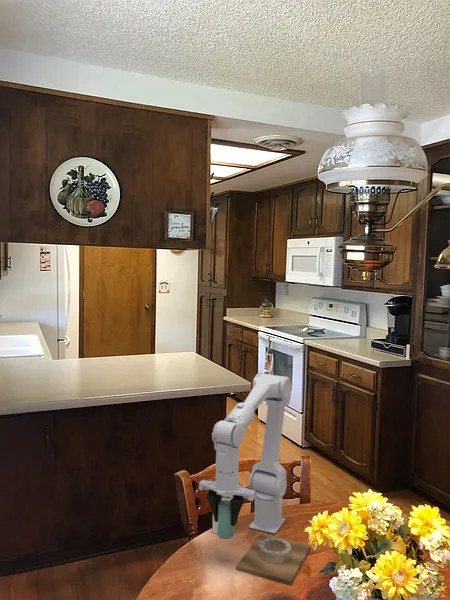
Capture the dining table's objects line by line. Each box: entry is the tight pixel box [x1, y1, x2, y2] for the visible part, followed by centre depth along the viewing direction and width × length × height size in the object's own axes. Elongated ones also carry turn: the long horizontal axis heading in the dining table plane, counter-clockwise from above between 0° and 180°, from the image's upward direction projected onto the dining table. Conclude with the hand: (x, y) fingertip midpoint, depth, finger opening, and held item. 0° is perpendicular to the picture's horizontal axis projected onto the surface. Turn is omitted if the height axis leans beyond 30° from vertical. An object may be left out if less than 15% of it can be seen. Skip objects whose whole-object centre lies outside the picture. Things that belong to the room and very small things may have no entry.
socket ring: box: [259, 537, 292, 564], centre depth 132 cm, size 8×8×2 cm
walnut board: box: [235, 533, 312, 586], centre depth 132 cm, size 18×14×1 cm
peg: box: [216, 500, 234, 540], centre depth 129 cm, size 4×4×8 cm
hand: (225, 522), depth 130 cm, fingers closed on peg, 4 cm apart
